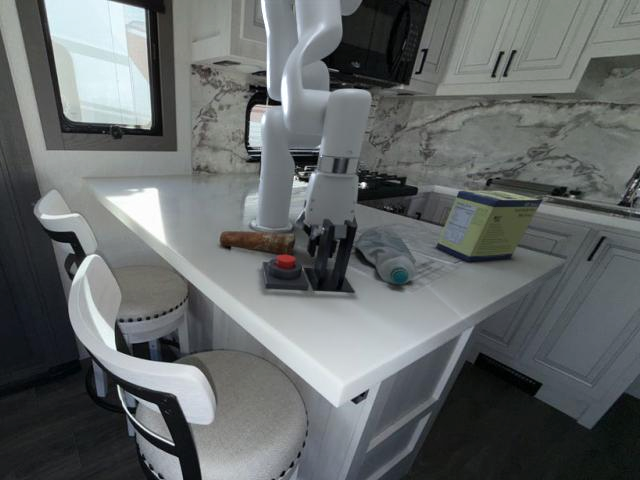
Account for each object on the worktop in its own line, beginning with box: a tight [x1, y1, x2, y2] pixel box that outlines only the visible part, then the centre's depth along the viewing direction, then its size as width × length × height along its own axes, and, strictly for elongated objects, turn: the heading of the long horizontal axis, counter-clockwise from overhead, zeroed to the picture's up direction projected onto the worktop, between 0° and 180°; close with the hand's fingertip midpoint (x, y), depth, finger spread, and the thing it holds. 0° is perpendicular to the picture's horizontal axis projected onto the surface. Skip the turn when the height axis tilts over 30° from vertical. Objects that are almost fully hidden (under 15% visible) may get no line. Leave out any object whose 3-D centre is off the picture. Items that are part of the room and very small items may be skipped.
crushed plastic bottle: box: [355, 226, 417, 285], centre depth 69 cm, size 13×7×25 cm
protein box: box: [435, 190, 543, 263], centre depth 80 cm, size 10×16×16 cm
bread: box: [219, 230, 297, 256], centre depth 75 cm, size 6×19×6 cm, turn 71°
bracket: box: [303, 219, 358, 294], centre depth 59 cm, size 10×8×13 cm
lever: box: [316, 224, 347, 247], centre depth 62 cm, size 13×3×3 cm, turn 0°
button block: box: [261, 257, 310, 291], centre depth 61 cm, size 10×8×4 cm
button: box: [276, 254, 296, 269], centre depth 60 cm, size 4×4×2 cm
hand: (320, 254), depth 68 cm, fingers closed on lever, 3 cm apart
